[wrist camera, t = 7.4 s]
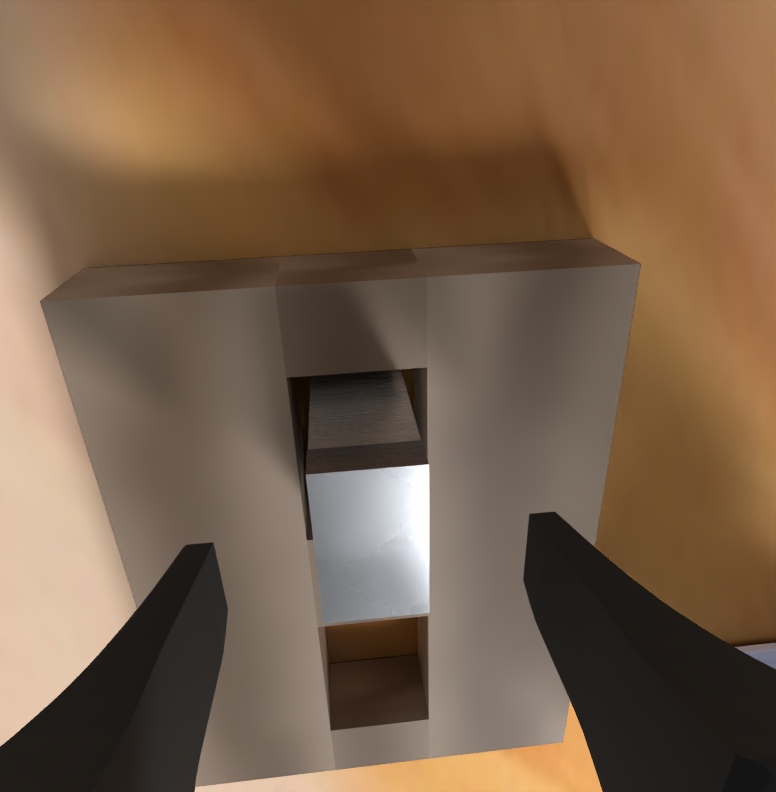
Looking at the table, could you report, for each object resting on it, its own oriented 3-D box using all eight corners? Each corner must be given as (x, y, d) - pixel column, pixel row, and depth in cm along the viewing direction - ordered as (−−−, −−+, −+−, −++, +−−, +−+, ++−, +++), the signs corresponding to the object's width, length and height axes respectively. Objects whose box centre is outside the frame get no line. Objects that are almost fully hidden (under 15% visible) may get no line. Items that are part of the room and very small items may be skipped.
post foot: (594, 238, 18) (641, 263, 15) (539, 678, 27) (562, 742, 25) (84, 268, 17) (40, 301, 14) (206, 716, 26) (193, 786, 24)
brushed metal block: (394, 342, 19) (428, 464, 13) (397, 458, 21) (429, 612, 15) (311, 347, 19) (305, 474, 13) (322, 465, 21) (323, 623, 15)
